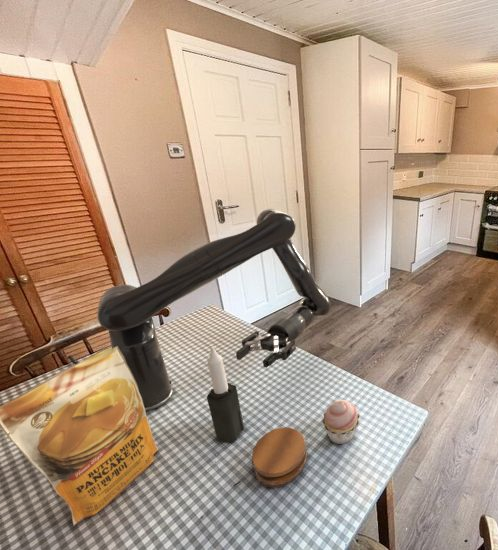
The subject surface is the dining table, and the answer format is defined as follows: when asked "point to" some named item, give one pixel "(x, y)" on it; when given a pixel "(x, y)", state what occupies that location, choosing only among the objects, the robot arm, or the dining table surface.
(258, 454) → the coaster pile
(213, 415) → the candle
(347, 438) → the cupcake
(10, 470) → the dining table surface
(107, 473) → the pancake mix bag
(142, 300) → the robot arm
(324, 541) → the dining table surface
